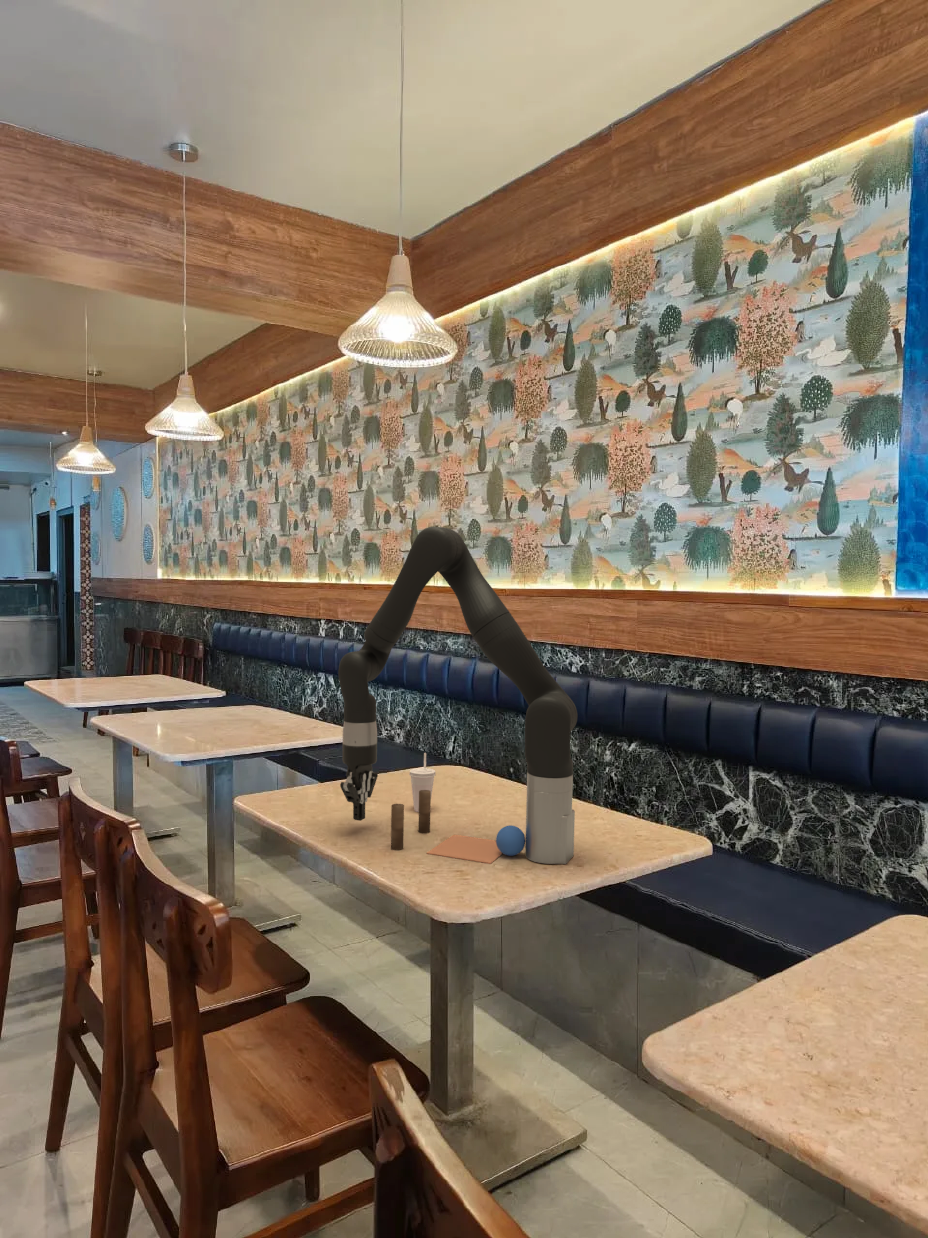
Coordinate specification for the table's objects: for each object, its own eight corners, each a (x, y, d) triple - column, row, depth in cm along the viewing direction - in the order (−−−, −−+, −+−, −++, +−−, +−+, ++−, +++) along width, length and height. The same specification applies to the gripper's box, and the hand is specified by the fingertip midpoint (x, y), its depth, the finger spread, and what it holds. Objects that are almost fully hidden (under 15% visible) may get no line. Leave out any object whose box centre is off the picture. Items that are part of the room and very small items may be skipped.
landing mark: (514, 844, 181) (514, 843, 181) (490, 864, 168) (490, 863, 168) (453, 835, 186) (453, 834, 186) (426, 853, 174) (426, 852, 173)
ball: (528, 853, 175) (530, 825, 175) (518, 862, 170) (520, 832, 170) (500, 847, 178) (503, 819, 177) (490, 856, 172) (492, 827, 172)
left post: (405, 847, 177) (406, 804, 177) (399, 851, 175) (400, 807, 174) (394, 845, 178) (395, 803, 178) (388, 849, 176) (389, 806, 176)
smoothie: (431, 814, 202) (432, 756, 202) (405, 812, 204) (406, 754, 203) (437, 807, 208) (438, 751, 208) (412, 806, 210) (413, 749, 209)
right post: (431, 830, 189) (432, 790, 189) (426, 834, 187) (427, 793, 187) (421, 829, 190) (422, 789, 190) (416, 832, 188) (417, 792, 188)
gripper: (359, 748, 179) (359, 829, 180) (389, 738, 191) (388, 814, 192) (329, 745, 182) (328, 825, 183) (359, 735, 194) (359, 810, 195)
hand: (359, 819), depth 187 cm, fingers closed
